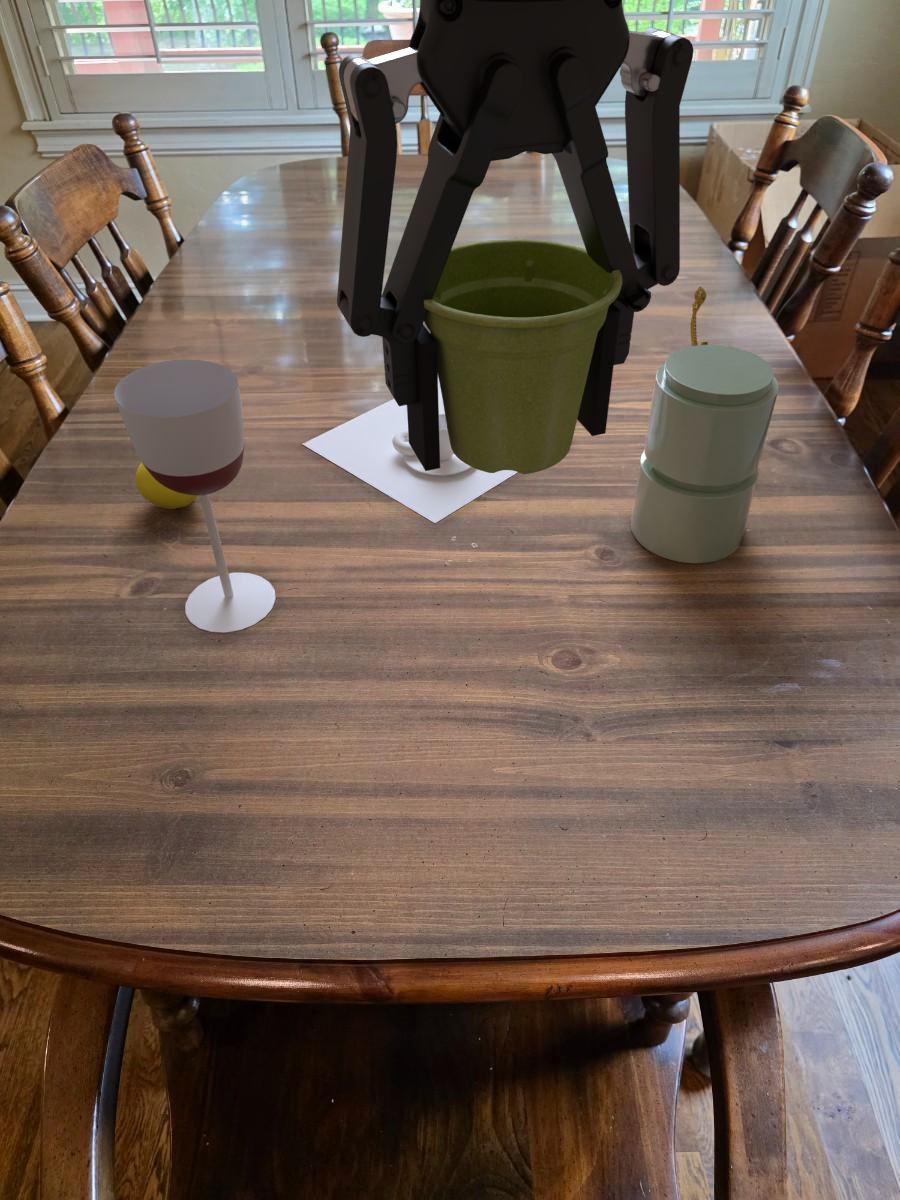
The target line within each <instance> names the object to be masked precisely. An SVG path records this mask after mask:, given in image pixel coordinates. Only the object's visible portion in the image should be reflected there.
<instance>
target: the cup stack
mask: <svg viewBox="0 0 900 1200" xmlns="http://www.w3.org/2000/svg"><path fill="white" fill-rule="evenodd" d="M779 390H780V386H779V381H778V379H777V377H776V376H775V371H774V369H773V367H772V366H771V364H769V362H767V361H766V360H765V359H764V358H763V357H760V356H759V355H757V354H755V353H753V352H751V351H748V350H745V349H743V348H738V347H734V346H729V345H721V344H708V345H701V344H697V346H692V345H691V346H687V347H683V348H680V349H677V350H675V351H673V352H672V353H671V354H669V356H667V358H666V360H665V362H663V363H662V364H661V365H659V367H658V368H657V370H656V372H655V377H654V384H653V389H652V397H651V403H650V409H649V414H648V415H649V416H648V420H647V421H648V422H647V428H646V435H645V442H644V446H643V447H644V448H643V451H642V452H641V454H640V459H639V465H638V471H637V477H636V484H635V485H636V486H635V491H634V498H633V505H632V511H631V515H630V530H631V532H632V535H633V538H635V540H636V541H637V542H638V543H639V544H640V545H641V546H642V547H643V548H645V550H648V551H649V552H651V553H652V554H654V555H657V556H659V557H661V558H663V559H667V560H670V561H674V562H678V563H685V564H706V563H707V564H708V563H713V562H717V561H720V560H723V559H725V558H728V557H729V556H731V555H732V554H733V553H734V552H736V550H737V549H738V548H739V547H740V545H741V543H742V539H743V536H744V531H745V528H746V524H747V520H748V518H749V514H750V509H751V506H752V503H753V498H754V495H755V490H756V487H757V483H758V480H759V477H760V476H759V475H760V470H759V466H760V463H761V458H762V454H763V451H764V447H765V443H766V439H767V435H768V432H769V428H770V424H771V421H772V416H773V412H774V409H775V405H776V401H777V398H778V394H779Z"/></svg>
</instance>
